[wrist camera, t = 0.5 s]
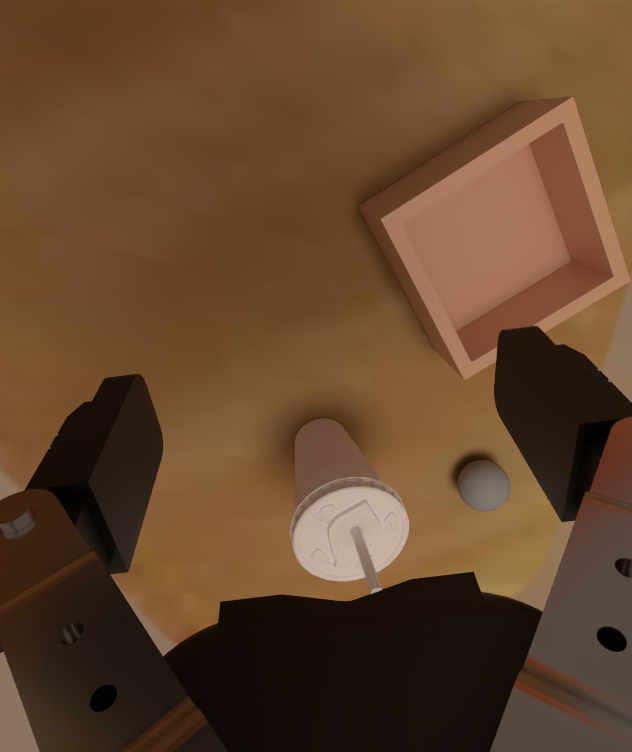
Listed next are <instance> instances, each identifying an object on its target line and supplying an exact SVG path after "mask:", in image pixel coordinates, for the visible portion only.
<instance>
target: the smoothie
mask: <svg viewBox="0 0 632 752" xmlns="http://www.w3.org/2000/svg"><path fill="white" fill-rule="evenodd" d="M408 532H409V520H408V516H407V513H406V511H405V508H404V505H403V503H402V501H401V498H400V497H399V495H398V494H397V493H396V492H395V491H394V490H393V489H392V488H391V487H390V486H388V485H386V484H385V483H383V482H382V480H381V479H380V478H379V476H378V475H377V474H376V472H375V471H374V469H373V468H372V467H371V465H370V464H369V462H368V461H367V460H366V458H365V457H364V455H363V454H362V453H361V451H360V450H359V448H358V447H357V445H356V444H355V443H354V441H353V440H352V438H351V437H350V436H349V434H348V433H347V431H346V430H345V429H344V427H343V426H342V425H341V424H340V423H338V422H337V421H335V420H332V419H327V418H321V419H315V420H313V421H310V422H308V423H307V424H305V425H304V426H303V427H302V428H301V429H300V430H299V432H298V433H297V435H296V438H295V513H294V515H293V517H292V519H291V525H290V537H291V543H292V545H293V549H294V553H295V555H296V557H297V559H298V561H299V562H300V564H301V565H302V566H303V567H304V568H305V569H306V570H307V571H309V572H310V573H312V574H313V575H315V576H317V577H320V578H323V579H326V580H332V581H352V580H358V579H361V578H366V581H367V584H368V587H369V590H370V593H371V594H372V593H375V592H378V591H380V590H382V587H381V585H380V582H379V579H378V576H377V572H378V571H380V570H382V569H383V568H385V567H386V566H387V565H389V564H390V563H391V562H392V561H393V560H394V559H395V558H396V557H397V556H398V554H399V553H400V552H401V550H402V549H403V547H404V545H405V543H406V540H407V537H408Z"/></svg>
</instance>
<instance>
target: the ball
mask: <svg viewBox="0 0 632 752" xmlns="http://www.w3.org/2000/svg"><path fill="white" fill-rule="evenodd" d="M458 491H459V494H460V496H461V498H462V499H463V501H464V502H465V503H466V504H467V505H468V506H470V507H471V508H473V509H476V510H479V511H492V510H495V509H497V508H499V507H501V506H502V505H503V504H504V503H505V502H506V500H507V498H508V496H509V493H510V481H509V478H508V476H507V474H506V472H505V471H504V470H503V469H502V468H501V467H500V466H499V465H497V464H496V463H494V462H491V461H487V460H477V461H474V462H471V463H469V464H468V465H467V466H465V467H464V468H463V470H462V471H461V473H460V475H459V478H458Z"/></svg>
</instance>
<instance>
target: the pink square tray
mask: <svg viewBox="0 0 632 752" xmlns="http://www.w3.org/2000/svg"><path fill="white" fill-rule="evenodd" d="M358 208H359V210H360V212H361V214H362V216H363V218H364V220H365V221H366V223H367V225H368V227H369V229H370V231H371V233H372V234H373V236H374V238H375V240H376V242H377V244H378V246H379V248H380V249H381V251H382V253H383V255H384V257H385V259H386V261H387V262H388V264H389V266H390V268H391V270H392V272H393V274H394V276H395V277H396V279H397V281H398V283H399V285H400V287H401V289H402V290H403V292H404V294H405V296H406V298H407V300H408V302H409V304H410V305H411V307H412V309H413V311H414V313H415V315H416V317H417V318H418V320H419V322H420V324H421V326H422V328H423V330H424V332H425V333H426V335H427V337H428V339H429V341H430V343H431V345H432V347H433V348H434V350H435V351H436V352H437V353H438V354H439V355H440V356H441V357H442V358H443V359H444V360H445V361H446V362H447V363H448V364H449V365H450V366H451V367H452V368H453V369H454V370H455V371H456V372H457V373H458V374H459V375H460V376H461V377H462V378H463V379H464V380H466V379H467V378H469V377H471V376H472V375H474V374H476V373H477V372H479V371H481V370H483V369H484V368H486V367H488V366H489V365H491V364H493V363H494V362H496V357H497V344H498V336H499V333H500V331H501V330H504V329H512V328H520V327H528V326H538V327H539V328H540V329H541V330H542V331H543V332H546V331H548V330H549V329H551V328H553V327H554V326H556V325H558V324H559V323H561V322H563V321H564V320H566V319H568V318H569V317H571V316H573V315H574V314H576V313H578V312H579V311H581V310H583V309H584V308H586V307H588V306H590V305H591V304H593V303H595V302H596V301H598V300H600V299H601V298H603V297H605V296H606V295H608V294H610V293H611V292H613V291H615V290H616V289H618V288H620V287H621V286H623V285H625V284H626V283H628V282H630V278H629V275H628V271H627V268H626V265H625V262H624V259H623V255H622V252H621V249H620V246H619V243H618V239H617V236H616V233H615V230H614V226H613V223H612V220H611V217H610V214H609V210H608V207H607V204H606V201H605V197H604V194H603V191H602V188H601V185H600V181H599V178H598V175H597V172H596V169H595V165H594V162H593V159H592V156H591V152H590V149H589V146H588V143H587V140H586V136H585V133H584V130H583V127H582V124H581V120H580V117H579V114H578V111H577V107H576V104H575V101H574V98H573V96H571V97H561V98H551V99H540V100H530V101H520V102H519V103H517V104H516V105H514V106H513V107H511V108H509V109H508V110H506V111H505V112H503V113H502V114H500V115H499V116H497V117H495V118H494V119H492V120H491V121H489V122H488V123H486V124H485V125H483V126H481V127H480V128H478V129H477V130H475V131H474V132H472V133H471V134H469V135H467V136H466V137H464V138H463V139H461V140H460V141H458V142H457V143H455V144H453V145H452V146H450V147H449V148H447V149H446V150H444V151H443V152H441V153H439V154H438V155H436V156H435V157H433V158H432V159H430V160H429V161H427V162H425V163H424V164H422V165H421V166H419V167H418V168H416V169H415V170H413V171H412V172H410V173H408V174H407V175H405V176H404V177H402V178H401V179H399V180H398V181H396V182H394V183H393V184H391V185H390V186H388V187H387V188H385V189H384V190H382V191H380V192H379V193H377V194H376V195H374V196H373V197H371V198H370V199H368V200H366V201H365V202H363V203H362V204H360V205H359V206H358Z"/></svg>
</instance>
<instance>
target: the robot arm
mask: <svg viewBox="0 0 632 752" xmlns="http://www.w3.org/2000/svg"><path fill="white" fill-rule="evenodd" d="M494 398H495V404H496V408H497V411H498V414H499V416H500V418H501V420H502V421H503V423H504V425H505V426H506V428H507V430H508V431H509V433H510V435H511V437H512V438H513V440H514V442H515V443H516V445H517V447H518V449H519V450H520V452H521V454H522V455H523V457H524V459H525V460H526V462H527V464H528V466H529V467H530V469H531V471H532V472H533V474H534V476H535V477H536V479H537V481H538V483H539V484H540V486H541V488H542V489H543V491H544V493H545V494H546V496H547V498H548V500H549V501H550V503H551V505H552V506H553V508H554V510H555V511H556V513H557V515H558V517H559V518H560V520H561V521H562V522H567V521H575V523H574V525H573V529H572V531H571V534H570V537H569V540H568V542H567V545H566V548H565V551H564V554H563V557H562V560H561V562H560V565H559V568H558V571H557V574H556V576H555V579H554V582H553V585H552V588H551V591H550V593H549V596H548V599H547V602H546V605H545V608H544V610H543V612H542V611H540V610H539V609H536V608H534V607H532V606H530V605H527V604H525V603H523V602H520V601H517V600H514V599H511V598H508V597H505V596H500V595H496V594H491V593H484V592H481V591H480V588H479V585H478V583H477V580H476V577H475V574H474V572H468V573H460V574H451V575H443V576H434V577H426V578H418V579H410V580H408V581H405V582H402V583H400V584H397V585H394V586H391V587H389V588H386V589H383V590H380V591H378V592H375V593H372V594H369V595H367V596H364V597H361V598H358V599H356V600H352V601H335V600H326V599H317V598H309V597H300V596H291V595H283V594H282V595H274V596H265V597H257V598H248V599H240V600H231V601H223V602H220V611H219V620H218V623H217V624H214V625H212V626H209V627H207V628H205V629H203V630H201V631H199V632H197V633H195V634H193V635H192V636H190V637H189V638H187V639H185V640H184V641H182V642H181V643H179V644H178V645H177V646H175V647H174V648H173V649H172V650H170V651H169V652H168V653H167V654H165V655H164V656H162V654H161V653H160V651H159V650H158V648H157V647H156V645H155V644H154V642H153V641H152V639H151V637H150V636H149V634H148V633H147V631H146V630H145V628H144V626H143V625H142V623H141V622H140V620H139V619H138V617H137V616H136V614H135V612H134V611H133V610H132V608H131V606H130V605H129V603H128V602H127V600H126V599H125V597H124V595H123V594H122V592H121V591H120V589H119V588H118V586H117V585H116V583H115V582H114V580H113V578H112V577H111V575H110V574H117V573H125V572H129V568H130V565H131V561H132V558H133V555H134V551H135V548H136V544H137V541H138V537H139V534H140V531H141V527H142V524H143V520H144V517H145V513H146V510H147V507H148V503H149V500H150V496H151V493H152V489H153V486H154V483H155V479H156V476H157V472H158V469H159V465H160V462H161V459H162V454H163V437H162V432H161V428H160V425H159V422H158V419H157V416H156V413H155V410H154V406H153V403H152V400H151V397H150V394H149V391H148V388H147V385H146V382H145V380H144V378H143V377H142V375H140V374H133V375H125V376H117V377H108V378H105V379H104V380H103V382H102V384H101V385H100V387H99V389H98V391H97V393H96V395H95V397H94V398H93V400H92V401H91V402H84V403H83V404H82V405H80V406H79V407H78V408H77V409H76V410H75V411H74V412H72V413H71V414H70V415H69V416H68V417H67V418H66V420H65V421H64V423H63V425H62V427H61V428H60V430H59V432H58V436H56V437H55V439H54V440H53V442H52V444H51V446H50V447H51V449H48V451H47V453H46V454H45V456H44V458H43V459H42V461H41V463H40V465H39V466H38V468H37V470H36V472H35V473H34V475H33V477H32V478H31V480H30V482H29V484H28V485H27V487H26V489H25V491H22V492H18V493H15V494H13V495H10V496H8V497H6V498H4V499H2V500H0V653H1V652H3V651H4V654H5V656H6V659H7V662H8V665H9V667H10V670H11V673H12V676H13V679H14V681H15V684H16V687H17V690H18V693H19V695H20V698H21V701H22V704H23V707H24V709H25V712H26V715H27V718H28V720H29V723H30V726H31V729H32V731H33V734H34V737H35V740H36V743H37V745H38V748H39V751H40V752H632V403H631V402H630V401H629V400H628V399H627V398H626V397H625V396H624V395H623V394H622V392H621V391H619V389H617V387H616V386H615V385H614V384H613V383H612V382H609V381H608V378H607V377H606V376H605V375H604V374H603V373H602V372H601V371H598V368H597V367H596V366H595V365H594V364H593V363H592V362H591V361H590V360H589V359H588V358H587V357H586V356H585V355H584V354H582V353H580V352H578V351H576V350H574V349H572V348H570V347H568V346H566V345H564V344H562V345H555V344H554V343H553V342H552V341H551V340H550V339H549V337H548V336H547V335H546V334H545V333H544V332H543V331H542V330H541V329H540V328H539V327H538V326H528V327H520V328H512V329H504V330H501V331H500V333H499V336H498V344H497V357H496V371H495V384H494Z"/></svg>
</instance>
